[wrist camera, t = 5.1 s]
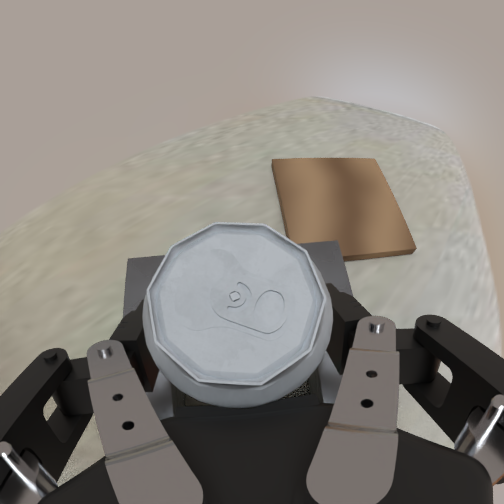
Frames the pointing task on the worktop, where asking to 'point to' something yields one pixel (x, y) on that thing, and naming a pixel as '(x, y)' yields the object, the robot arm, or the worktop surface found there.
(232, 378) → the beer can
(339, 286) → the metal collar
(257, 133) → the worktop surface
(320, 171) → the walnut coaster
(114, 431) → the robot arm
